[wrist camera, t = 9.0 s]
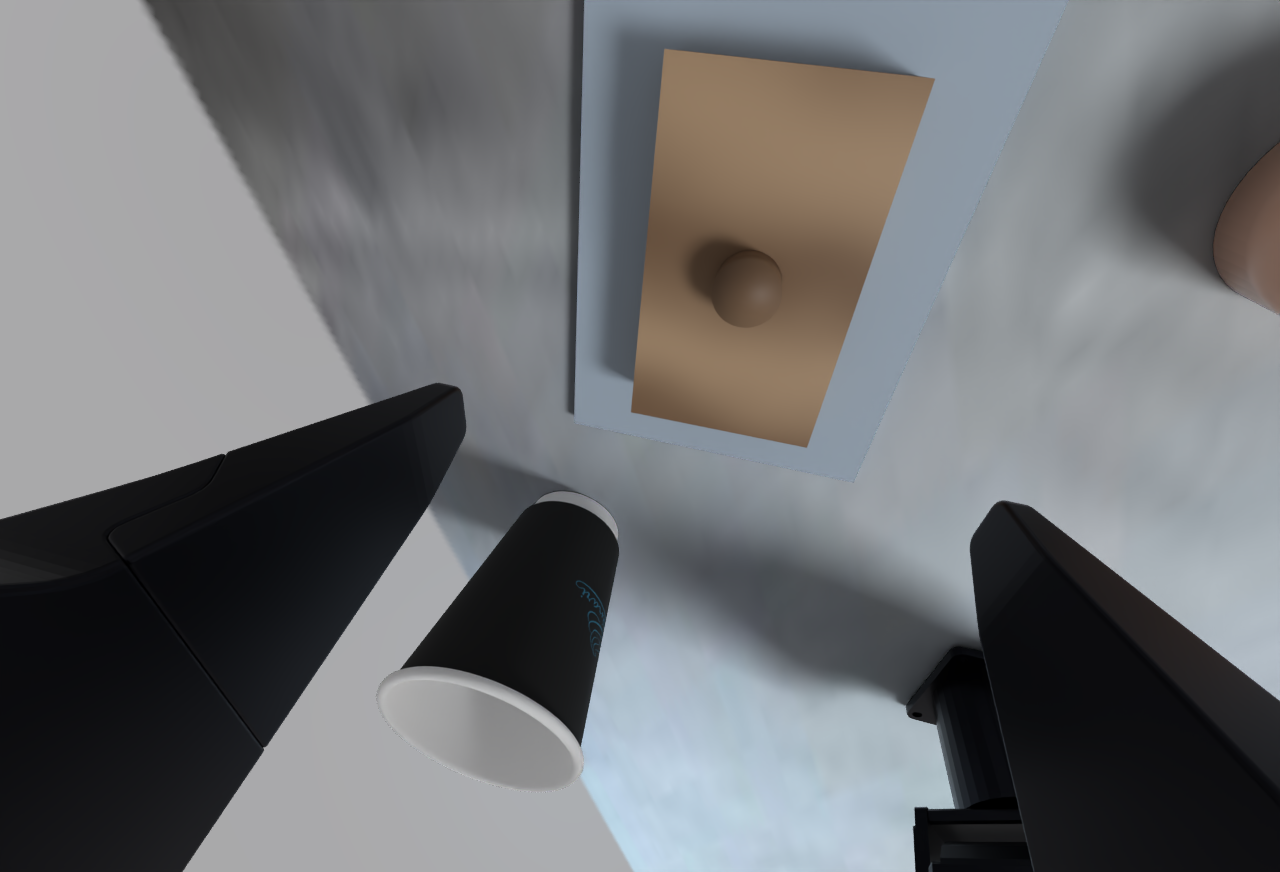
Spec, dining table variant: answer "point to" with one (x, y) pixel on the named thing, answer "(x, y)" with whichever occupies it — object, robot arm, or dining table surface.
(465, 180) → the dining table surface
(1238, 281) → the ramekin
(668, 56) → the lid
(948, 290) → the dining table surface
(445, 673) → the dixie cup
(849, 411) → the mat
